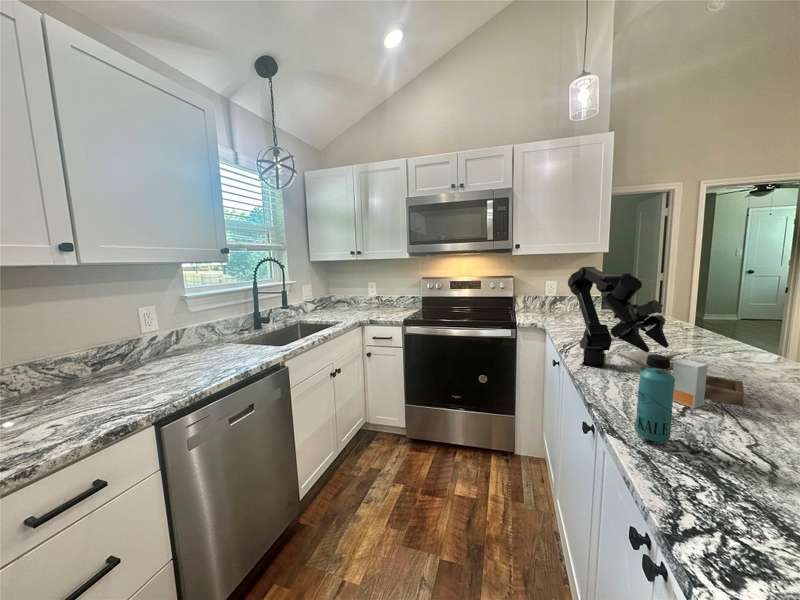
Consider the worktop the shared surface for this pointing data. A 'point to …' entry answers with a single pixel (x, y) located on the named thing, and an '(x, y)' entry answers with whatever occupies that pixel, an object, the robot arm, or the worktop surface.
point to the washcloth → (640, 358)
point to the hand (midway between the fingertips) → (658, 349)
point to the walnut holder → (724, 390)
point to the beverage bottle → (655, 400)
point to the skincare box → (689, 382)
